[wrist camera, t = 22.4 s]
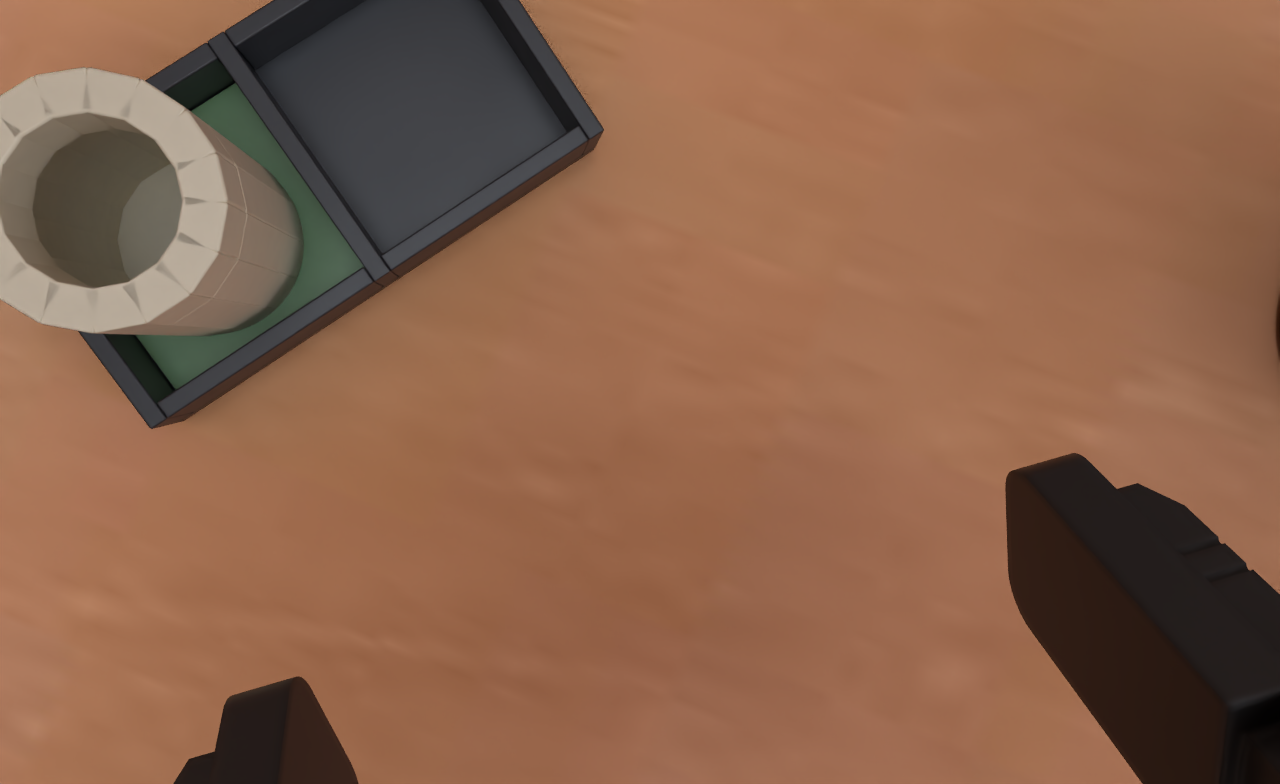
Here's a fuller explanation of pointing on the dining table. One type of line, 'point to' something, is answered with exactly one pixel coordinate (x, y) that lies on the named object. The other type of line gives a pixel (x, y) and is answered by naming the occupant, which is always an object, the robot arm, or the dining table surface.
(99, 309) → the jar
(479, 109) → the tray
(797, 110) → the dining table surface
